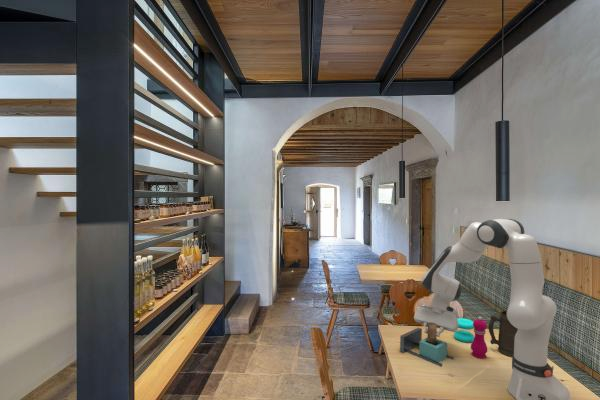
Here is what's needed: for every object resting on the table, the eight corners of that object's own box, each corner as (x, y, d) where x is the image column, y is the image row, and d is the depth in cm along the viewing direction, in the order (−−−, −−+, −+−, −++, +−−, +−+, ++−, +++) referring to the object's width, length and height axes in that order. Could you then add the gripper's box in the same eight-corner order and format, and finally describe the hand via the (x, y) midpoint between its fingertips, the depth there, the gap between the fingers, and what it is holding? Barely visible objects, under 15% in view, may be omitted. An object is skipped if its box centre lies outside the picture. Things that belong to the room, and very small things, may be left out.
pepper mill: (489, 361, 166) (490, 320, 165) (472, 360, 168) (474, 318, 167) (484, 354, 173) (485, 314, 172) (468, 353, 175) (470, 313, 174)
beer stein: (517, 348, 181) (516, 309, 180) (529, 358, 170) (527, 317, 169) (486, 348, 182) (484, 310, 182) (495, 358, 172) (494, 317, 171)
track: (455, 359, 168) (456, 340, 168) (438, 370, 158) (439, 350, 157) (417, 344, 183) (418, 327, 183) (399, 353, 173) (400, 335, 173)
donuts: (451, 317, 196) (469, 317, 195) (451, 334, 196) (469, 335, 196) (459, 324, 186) (478, 324, 185) (458, 342, 186) (477, 343, 186)
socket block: (446, 357, 168) (447, 342, 167) (436, 363, 162) (437, 348, 162) (429, 350, 175) (429, 336, 174) (419, 355, 169) (419, 341, 169)
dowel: (437, 349, 169) (438, 324, 168) (433, 351, 166) (434, 326, 165) (429, 346, 172) (430, 321, 171) (425, 348, 169) (426, 323, 169)
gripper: (417, 300, 180) (408, 325, 173) (459, 310, 167) (452, 337, 160) (420, 307, 184) (412, 331, 176) (461, 317, 170) (454, 343, 163)
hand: (431, 334), depth 168 cm, fingers closed on dowel, 4 cm apart
